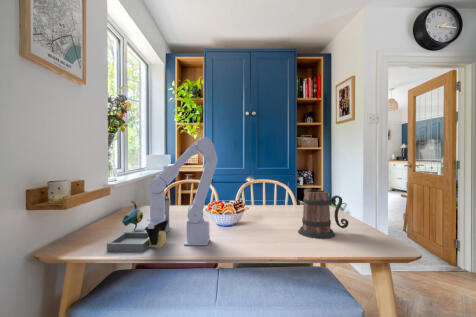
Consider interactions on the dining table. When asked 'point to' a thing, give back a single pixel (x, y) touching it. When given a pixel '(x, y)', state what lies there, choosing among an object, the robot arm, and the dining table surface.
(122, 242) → the tray
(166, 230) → the coffee box
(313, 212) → the tankard
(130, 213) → the blue bird figurine
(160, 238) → the mustard block
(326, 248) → the dining table surface
